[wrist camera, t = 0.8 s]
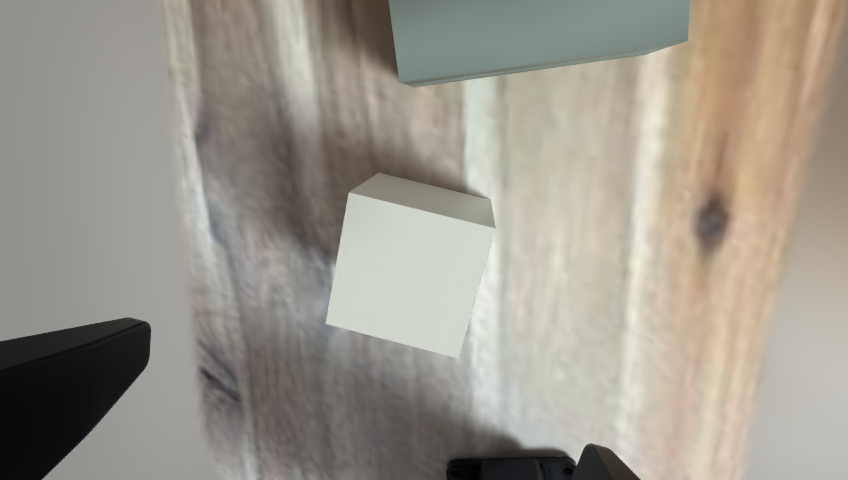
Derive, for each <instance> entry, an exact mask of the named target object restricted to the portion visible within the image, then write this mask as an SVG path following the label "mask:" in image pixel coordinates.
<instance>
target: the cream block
mask: <svg viewBox="0 0 848 480" xmlns="http://www.w3.org/2000/svg"><path fill="white" fill-rule="evenodd" d="M495 229H496V228H495V222H494V216H493V211H492V205H491V200H489V199H485V198H481V197H477V196H473V195H469V194H465V193H461V192H457V191H453V190H448V189H444V188H440V187H436V186H432V185H428V184H424V183H420V182H416V181H412V180H407V179H403V178H399V177H395V176H391V175H387V174H383V173H378V174H376V175H375V176H373V177H371V178H370V179H368V180H367V181H365V182H364V183H362V184H361V185H359V186H358V187H356V188H355V189H353V190H352V191H350V192H349V194H348V199H347V205H346V211H345V216H344V222H343V228H342V233H341V239H340V245H339V250H338V256H337V262H336V267H335V273H334V279H333V284H332V290H331V296H330V301H329V307H328V313H327V318H326V324H328V325H331V326H335V327H339V328H343V329H347V330H351V331H355V332H358V333H362V334H366V335H370V336H374V337H378V338H382V339H385V340H389V341H393V342H397V343H401V344H405V345H409V346H412V347H416V348H420V349H424V350H428V351H432V352H436V353H439V354H443V355H447V356H451V357H455V358H459V356H460V352H461V349H462V345H463V341H464V338H465V334H466V331H467V327H468V324H469V320H470V317H471V313H472V310H473V306H474V303H475V299H476V296H477V292H478V289H479V285H480V282H481V278H482V275H483V271H484V268H485V264H486V260H487V257H488V253H489V250H490V246H491V243H492V239H493V236H494V232H495Z"/></svg>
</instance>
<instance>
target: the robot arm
mask: <svg viewBox="0 0 848 480" xmlns="http://www.w3.org/2000/svg"><path fill="white" fill-rule="evenodd" d="M150 339H151V327H150V325H149V323H147V322H145V321H141V320H137V319H134V318H122V319H117V320H112V321H106V322H101V323H96V324H90V325H85V326H80V327H74V328H70V329H64V330H58V331H53V332H48V333H43V334H37V335H32V336H27V337H21V338H17V339H11V340H6V341H0V480H42V479H43V478H44V477H45V476H46V475H47V474H48V473H49V472H50V471H51V470H52V469H53V468H54V467H55V466H56V465H57V464H58V463H59V462H60V461H61V460H63V458H65V456H67V455H68V453H70V452H71V451H72V450H73V449H74V448H75V447H76V446H77V445H78V444H79V443H80V442H81V441H82V440H83V439H84V438H85V437H86V436H87V435H88V434H89V433H90V432H91V431H92V430H93V428H94V427H95V426H96V425H97V424H98V423H99V422H100V421H101V419H102V418H103V417H104V416H105V415H106V414H107V412H108V411H109V410H110V409H111V408H112V407H113V405H114V404H115V403H116V402H117V401H118V400H119V398H120V397H121V396H122V395H123V394H124V393H125V391H126V390H127V389H128V388H129V387H130V386H131V384H132V383H133V382H134V381H135V380H136V378H137V377H138V376H139V375H140V374H141V372H143V370H144V369H145V367H146V366H147V363H148V361H149V356H150ZM564 467H570V468H569V469H563V468H564ZM454 469H458V470H459V471H454ZM446 476H447V480H640V479H639V478H638V477H637V476H636V475H635V474H634V473H633V472H632V471H631V470H630V469H629V468H628V467H627V466H626V465H625V464H624V463H623V462H622V461H621V460H620V458H619V457H618V456H617V455H616V454H615V453H614V452H613V451H612V450H610V449H609V448H606V447H603V446H599V445H595V444H591V443H590V444H587V445H586V446H585V448H584V450H583V452H582V454H581V457H580V459H579V462H578V464H577V466H576V462H575V461H574V460H573V459H572V458H570V457H532V458H488V459H454V460H451V461H449V462H448V464H447V470H446Z"/></svg>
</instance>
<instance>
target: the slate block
mask: <svg viewBox="0 0 848 480" xmlns="http://www.w3.org/2000/svg"><path fill="white" fill-rule="evenodd" d="M388 1H389V9H390V16H391V24H392V31H393V39H394V46H395V54H396V61H397V69H398V76H399V82H401V83H404V84H406V85H409V86H412V87H420V86H427V85H434V84H441V83H448V82H455V81H462V80H469V79H476V78H484V77H491V76H498V75H505V74H512V73H519V72H526V71H533V70H540V69H547V68H555V67H562V66H569V65H576V64H583V63H590V62H597V61H604V60H611V59H618V58H626V57H633V56H640V55H646V54H649V53H652V52H655V51H658V50H661V49H664V48H667V47H670V46H673V45H676V44H679V43H682V42H685V41H688V24H689V0H388Z"/></svg>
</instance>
